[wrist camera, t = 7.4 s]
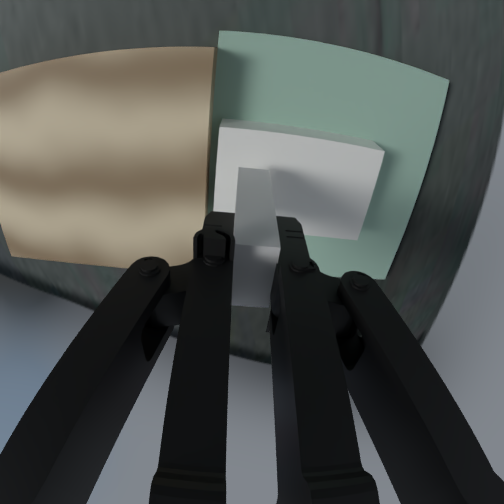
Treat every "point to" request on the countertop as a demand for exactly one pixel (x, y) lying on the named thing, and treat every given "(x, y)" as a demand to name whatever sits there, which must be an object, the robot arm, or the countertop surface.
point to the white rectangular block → (301, 173)
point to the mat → (337, 125)
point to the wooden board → (107, 155)
